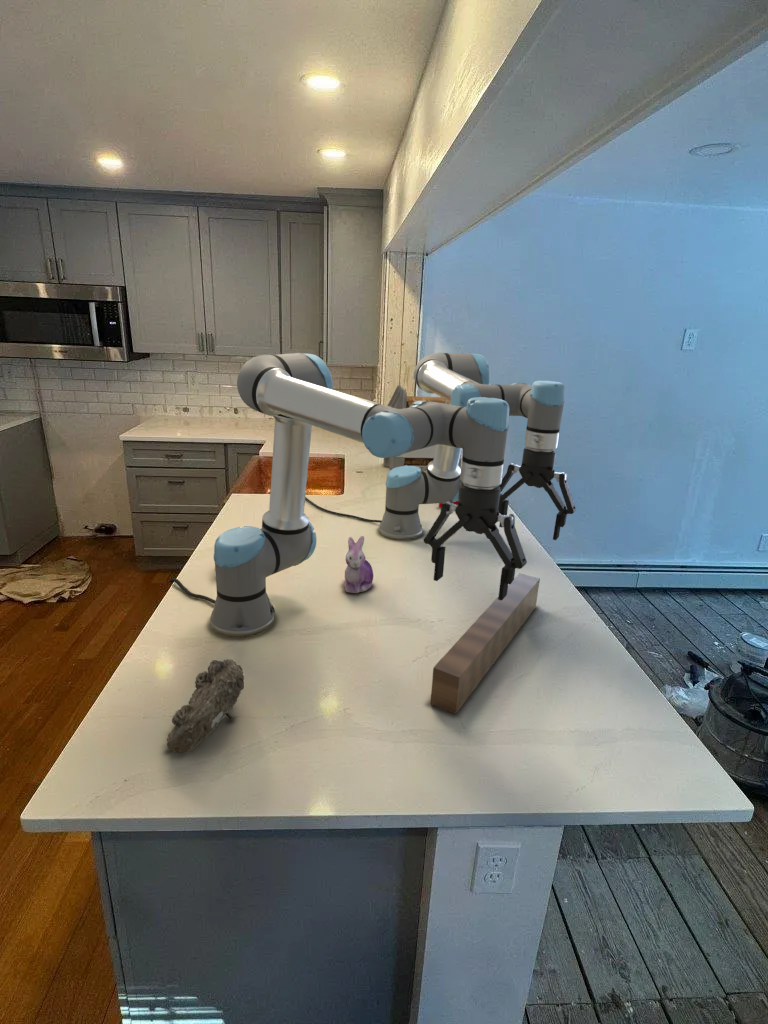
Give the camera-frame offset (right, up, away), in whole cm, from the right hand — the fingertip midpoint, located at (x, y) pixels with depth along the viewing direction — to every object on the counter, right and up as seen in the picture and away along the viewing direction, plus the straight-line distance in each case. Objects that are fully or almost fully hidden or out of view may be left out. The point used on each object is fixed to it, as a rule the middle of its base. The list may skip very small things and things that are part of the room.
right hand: (528, 532), depth 141 cm
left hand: (-19, -10, -30) cm, 37 cm away
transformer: (-19, +24, +134) cm, 137 cm away
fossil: (-69, -34, -33) cm, 84 cm away
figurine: (-43, -16, +20) cm, 50 cm away
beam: (-11, -27, -7) cm, 30 cm away
